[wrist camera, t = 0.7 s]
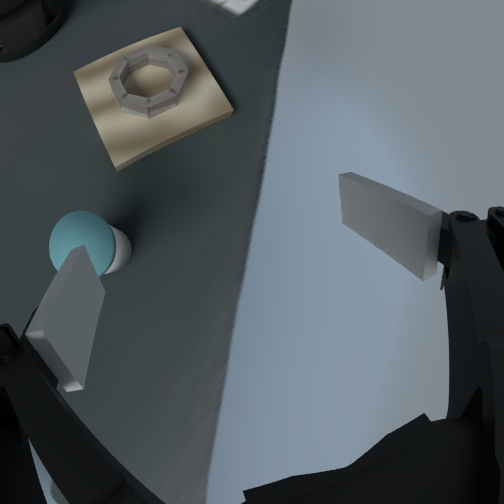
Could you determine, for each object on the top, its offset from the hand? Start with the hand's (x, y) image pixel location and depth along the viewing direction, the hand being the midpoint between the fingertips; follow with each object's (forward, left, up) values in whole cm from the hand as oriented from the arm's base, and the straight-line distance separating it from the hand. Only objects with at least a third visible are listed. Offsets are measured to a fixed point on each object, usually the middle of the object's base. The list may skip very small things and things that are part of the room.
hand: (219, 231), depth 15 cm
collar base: (-20, +5, -22) cm, 31 cm away
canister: (-4, -8, -22) cm, 24 cm away
